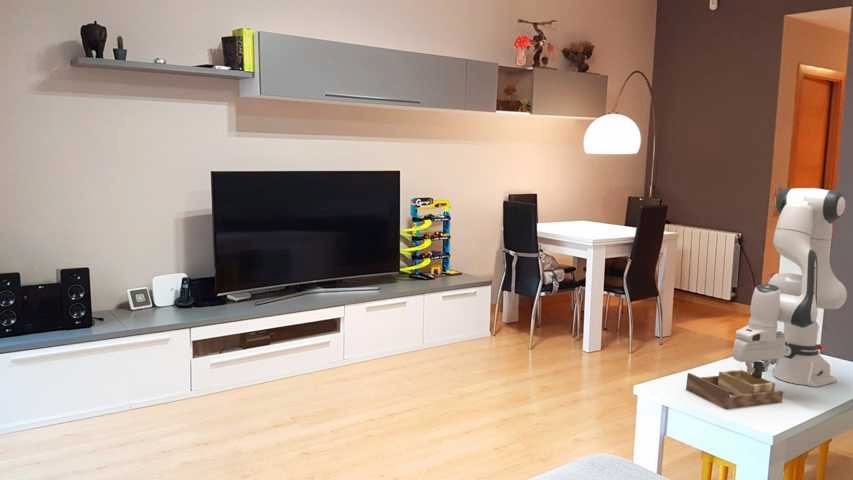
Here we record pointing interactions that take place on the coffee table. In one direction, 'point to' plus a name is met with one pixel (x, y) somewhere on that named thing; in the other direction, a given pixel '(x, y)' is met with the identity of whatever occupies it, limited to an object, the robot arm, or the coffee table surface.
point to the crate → (745, 381)
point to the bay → (728, 393)
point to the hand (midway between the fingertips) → (757, 372)
